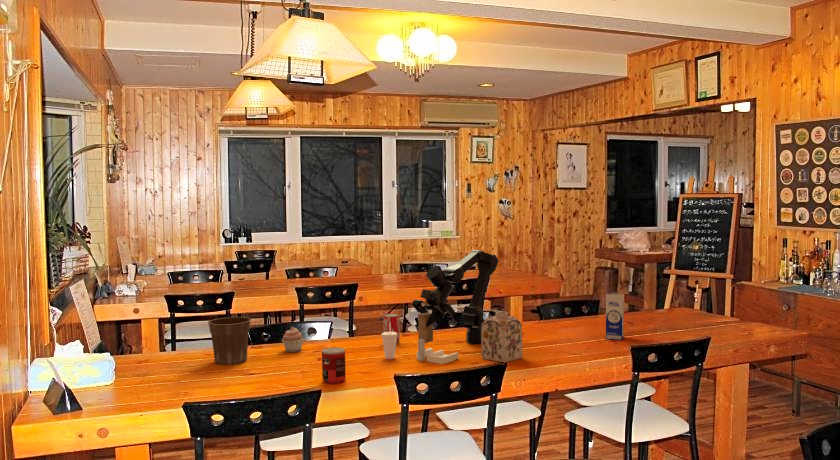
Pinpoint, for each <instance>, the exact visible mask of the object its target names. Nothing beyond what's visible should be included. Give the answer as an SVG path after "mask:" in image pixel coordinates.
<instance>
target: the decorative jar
mask: <svg viewBox="0 0 840 460" xmlns="http://www.w3.org/2000/svg"><path fill="white" fill-rule="evenodd" d="M484 320H485V321H484V322H483V323H482V325H481V343H480V344H481V346H480V347H481V349H480V350H481V359H483V360H488V361H493V362H497V363H501V362H506V363H509V362H512V361H515V360H519V359H522V358H523V324H522V323H521V321H520V320H519V319H518V318H517V317H516V316H513V315H509V313H508V312H507V311H503V310H502V311H501V310H500V311H496V312H495V314H494V315H490V316H487V317H486V318H485V319H484Z"/></svg>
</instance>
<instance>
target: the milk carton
mask: <svg viewBox="0 0 840 460" xmlns="http://www.w3.org/2000/svg"><path fill="white" fill-rule="evenodd" d="M624 298H625V295H624V294H621V293H620V292H617V291H615V292H614V291H613V292H611V293H605V340H611V341H612V340H613V341H614V340H615V341H623V339H624V334H625V333H624V332H625V329H624V328H625V327H624V324H625V319H624V317H625V315H624V313H625V312H624V311H625V310H624V309H625V307H624V306H625V305H624V304H625V299H624Z"/></svg>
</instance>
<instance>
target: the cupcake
mask: <svg viewBox="0 0 840 460" xmlns="http://www.w3.org/2000/svg"><path fill="white" fill-rule="evenodd" d="M304 340H305V337H303V334H302V333H301V331H299V329H298V328H296V327H294V326H291V327H290V329H289V330H286V331H285V333H284V334H283V337H282V339H281V342H282V343H283V347H284V349H285V352H287V353H296V352H300V351H302V347H303V343H304Z"/></svg>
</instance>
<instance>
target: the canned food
mask: <svg viewBox="0 0 840 460" xmlns="http://www.w3.org/2000/svg"><path fill="white" fill-rule="evenodd" d="M321 370H322V371H321V373H322V377H321V378H322V379H321V380H322V382H323V383H325V384H328V385H337V384H342V383H344V382H345V381H346V378H347V377H346V349H345V348H343V347H336V346H335V347H326V348H323V349H321Z"/></svg>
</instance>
